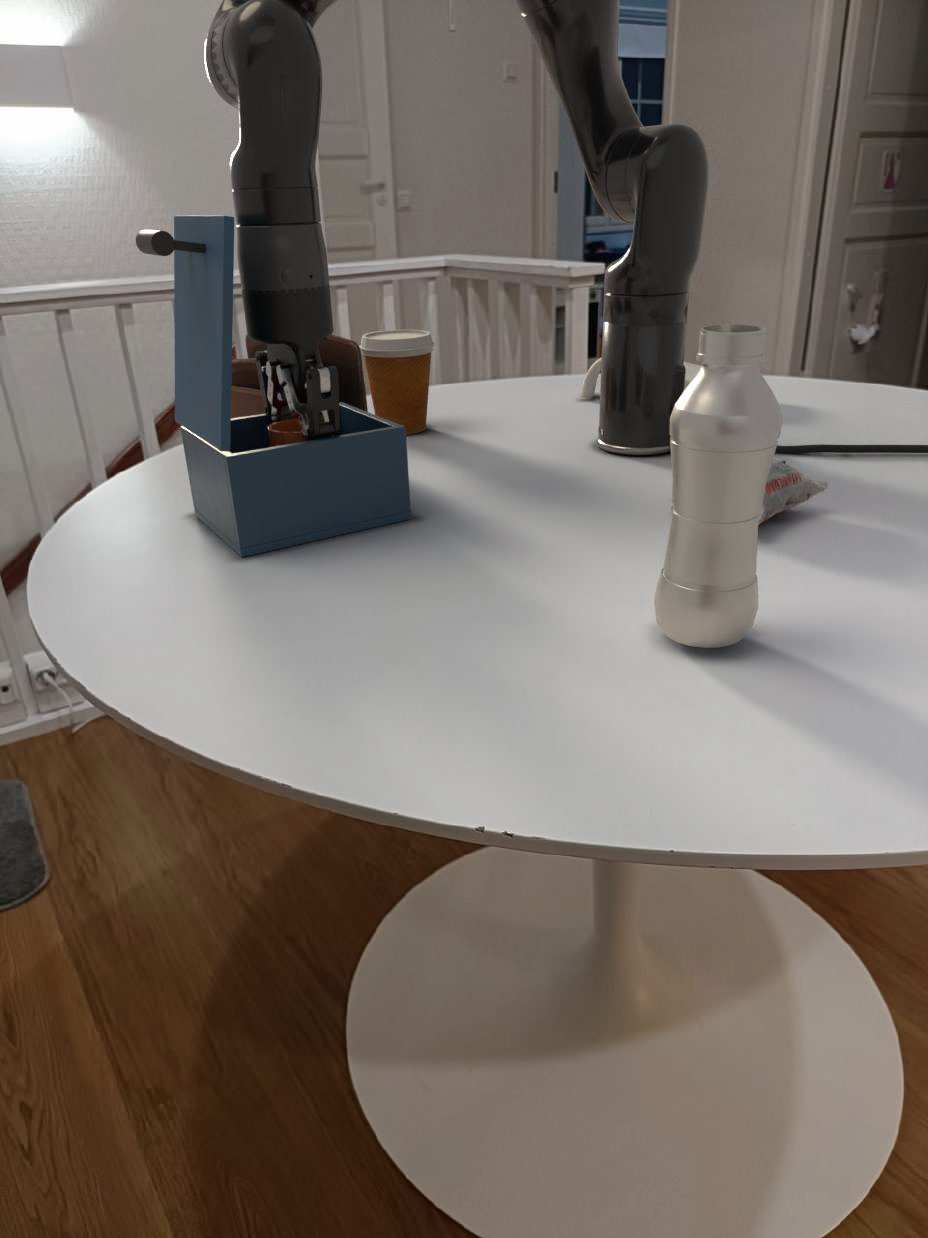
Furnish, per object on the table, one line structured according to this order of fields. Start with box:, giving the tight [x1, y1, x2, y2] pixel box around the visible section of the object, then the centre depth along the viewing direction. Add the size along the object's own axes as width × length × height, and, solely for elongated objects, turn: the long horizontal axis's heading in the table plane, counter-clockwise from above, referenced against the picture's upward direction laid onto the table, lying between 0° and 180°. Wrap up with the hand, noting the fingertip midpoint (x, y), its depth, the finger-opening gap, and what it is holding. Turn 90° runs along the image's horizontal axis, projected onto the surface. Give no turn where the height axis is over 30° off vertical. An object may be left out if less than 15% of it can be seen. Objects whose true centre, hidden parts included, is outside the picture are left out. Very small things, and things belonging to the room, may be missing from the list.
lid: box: [135, 215, 235, 451], centre depth 72 cm, size 18×14×5 cm
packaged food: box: [759, 458, 829, 525], centre depth 80 cm, size 9×12×5 cm
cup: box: [268, 418, 334, 447], centre depth 83 cm, size 6×6×8 cm
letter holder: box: [231, 333, 369, 419], centre depth 102 cm, size 10×20×14 cm, turn 52°
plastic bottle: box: [653, 323, 783, 649], centre depth 55 cm, size 6×7×20 cm
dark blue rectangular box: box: [179, 402, 412, 558], centre depth 82 cm, size 17×14×9 cm
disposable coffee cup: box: [359, 329, 436, 436], centre depth 113 cm, size 10×10×12 cm
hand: (305, 470), depth 83 cm, fingers closed on cup, 6 cm apart
